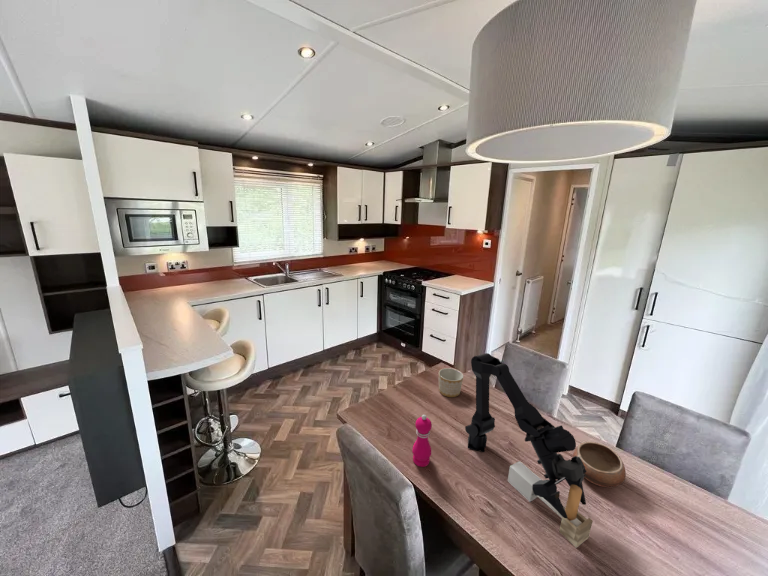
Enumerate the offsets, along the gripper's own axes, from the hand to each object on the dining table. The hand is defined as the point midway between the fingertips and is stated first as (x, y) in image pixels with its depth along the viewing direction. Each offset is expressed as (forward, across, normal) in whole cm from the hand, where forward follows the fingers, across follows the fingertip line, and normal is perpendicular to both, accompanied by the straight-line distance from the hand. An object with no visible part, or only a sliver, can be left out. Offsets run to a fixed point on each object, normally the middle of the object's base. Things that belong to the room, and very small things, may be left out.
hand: (575, 511), depth 90 cm
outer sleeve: (-6, 0, +17) cm, 18 cm away
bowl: (0, +28, +12) cm, 31 cm away
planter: (-46, +15, +58) cm, 76 cm away
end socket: (+6, 0, +5) cm, 8 cm away
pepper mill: (-24, -25, +36) cm, 50 cm away
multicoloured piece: (0, 0, +8) cm, 8 cm away
